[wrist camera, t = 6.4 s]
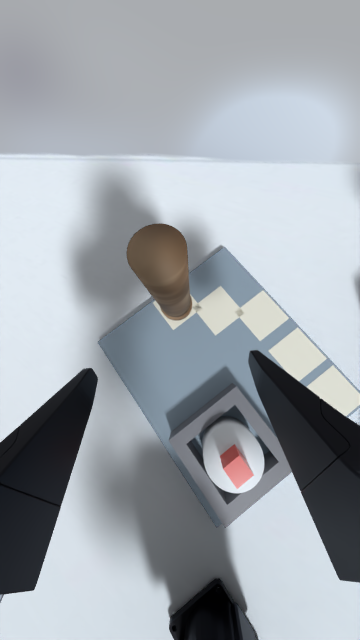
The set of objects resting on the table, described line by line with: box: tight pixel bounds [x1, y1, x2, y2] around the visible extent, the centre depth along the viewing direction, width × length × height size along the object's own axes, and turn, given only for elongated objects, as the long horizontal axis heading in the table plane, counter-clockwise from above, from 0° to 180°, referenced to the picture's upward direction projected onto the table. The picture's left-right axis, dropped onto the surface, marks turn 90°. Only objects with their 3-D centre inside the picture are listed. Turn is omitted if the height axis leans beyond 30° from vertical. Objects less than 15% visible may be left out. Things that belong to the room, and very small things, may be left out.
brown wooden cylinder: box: [127, 224, 192, 321], centre depth 16 cm, size 4×4×12 cm
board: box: [98, 247, 360, 528], centre depth 20 cm, size 21×24×3 cm
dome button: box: [202, 416, 264, 493], centre depth 17 cm, size 6×6×4 cm
